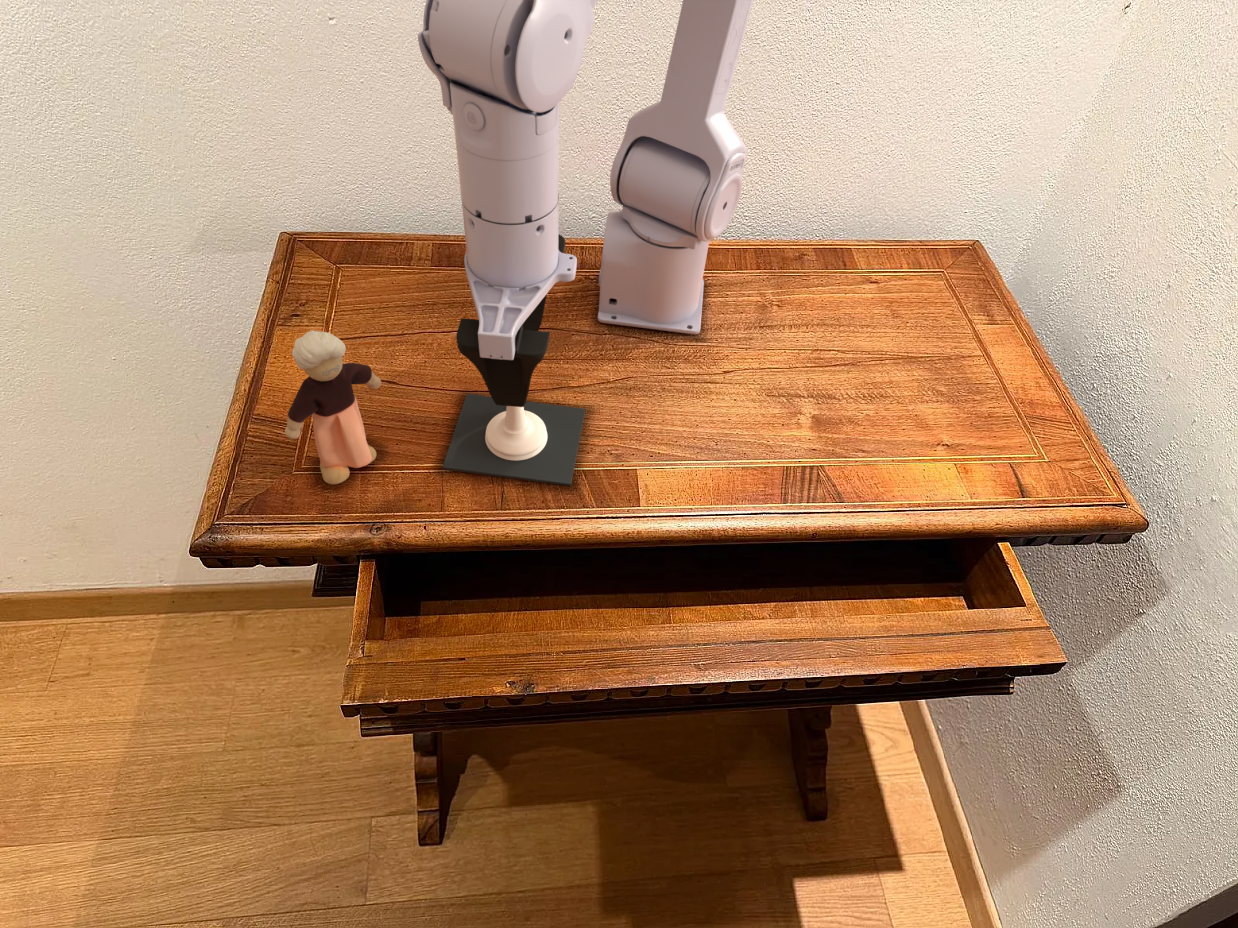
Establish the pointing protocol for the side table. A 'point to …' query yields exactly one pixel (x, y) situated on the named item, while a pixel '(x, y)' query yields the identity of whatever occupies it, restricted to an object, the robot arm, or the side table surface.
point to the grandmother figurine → (331, 404)
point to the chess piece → (516, 434)
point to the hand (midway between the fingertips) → (517, 364)
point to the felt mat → (544, 467)
